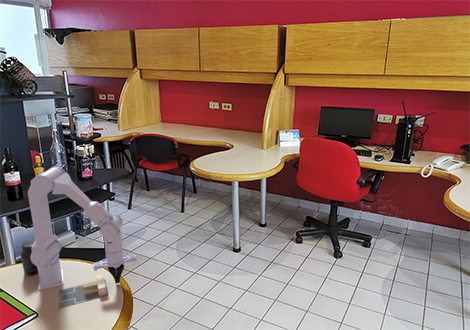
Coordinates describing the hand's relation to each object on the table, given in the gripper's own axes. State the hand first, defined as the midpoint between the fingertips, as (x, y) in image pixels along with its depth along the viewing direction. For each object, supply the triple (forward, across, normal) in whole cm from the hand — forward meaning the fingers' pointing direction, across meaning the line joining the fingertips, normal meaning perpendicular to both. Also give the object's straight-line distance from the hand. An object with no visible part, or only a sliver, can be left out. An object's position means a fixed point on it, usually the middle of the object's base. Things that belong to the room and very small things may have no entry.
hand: (117, 281), depth 127 cm
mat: (+1, -12, 0) cm, 12 cm away
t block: (+1, -8, 0) cm, 8 cm away
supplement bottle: (+2, -28, +22) cm, 35 cm away
